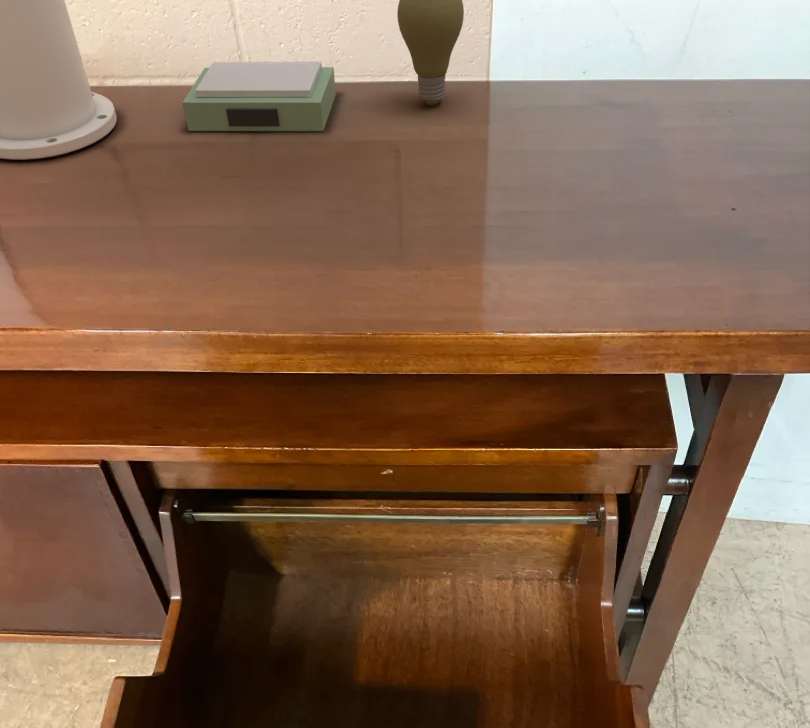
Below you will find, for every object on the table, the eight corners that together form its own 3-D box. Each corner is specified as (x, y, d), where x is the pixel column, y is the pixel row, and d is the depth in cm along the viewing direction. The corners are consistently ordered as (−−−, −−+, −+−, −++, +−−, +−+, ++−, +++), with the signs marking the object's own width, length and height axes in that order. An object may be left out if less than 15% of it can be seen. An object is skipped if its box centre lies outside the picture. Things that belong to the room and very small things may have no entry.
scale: (187, 132, 73) (179, 96, 71) (209, 95, 79) (203, 60, 77) (323, 132, 72) (319, 95, 70) (336, 94, 78) (333, 59, 76)
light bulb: (399, 116, 74) (394, -14, 67) (402, 91, 78) (397, -35, 70) (462, 115, 74) (464, -16, 66) (462, 90, 78) (464, -37, 70)
